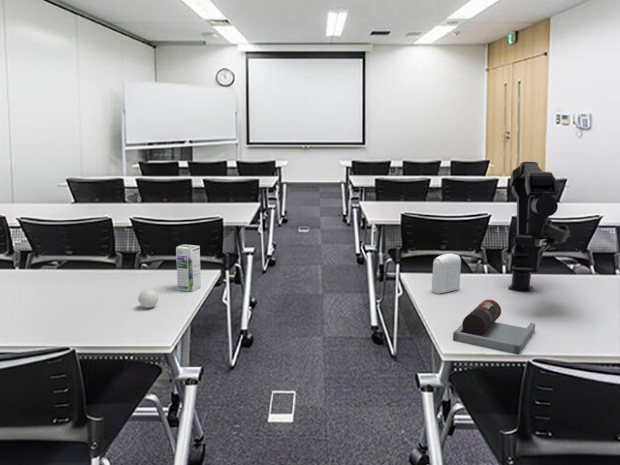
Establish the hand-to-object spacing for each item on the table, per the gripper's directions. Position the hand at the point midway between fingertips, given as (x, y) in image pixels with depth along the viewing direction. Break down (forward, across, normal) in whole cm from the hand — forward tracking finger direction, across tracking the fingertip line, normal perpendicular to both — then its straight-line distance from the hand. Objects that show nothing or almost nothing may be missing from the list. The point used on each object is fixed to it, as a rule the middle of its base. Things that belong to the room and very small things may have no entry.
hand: (535, 268), depth 162 cm
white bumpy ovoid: (+15, -79, +83) cm, 116 cm away
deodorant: (+10, -18, +4) cm, 22 cm away
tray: (+15, -27, -1) cm, 31 cm away
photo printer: (+10, -2, +28) cm, 30 cm away
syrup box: (+12, -60, +90) cm, 108 cm away
